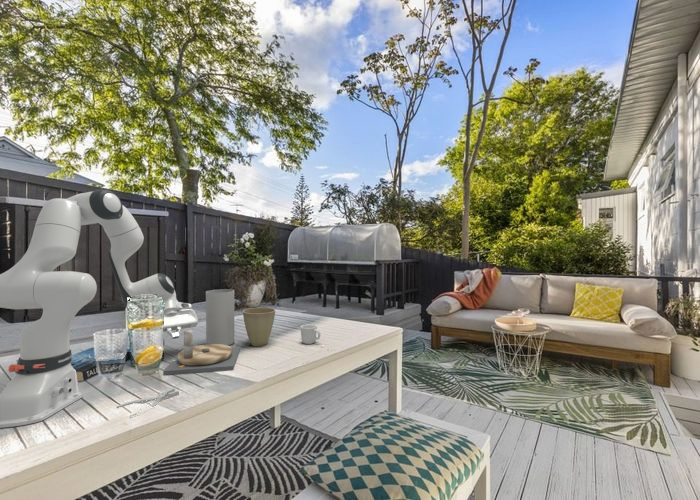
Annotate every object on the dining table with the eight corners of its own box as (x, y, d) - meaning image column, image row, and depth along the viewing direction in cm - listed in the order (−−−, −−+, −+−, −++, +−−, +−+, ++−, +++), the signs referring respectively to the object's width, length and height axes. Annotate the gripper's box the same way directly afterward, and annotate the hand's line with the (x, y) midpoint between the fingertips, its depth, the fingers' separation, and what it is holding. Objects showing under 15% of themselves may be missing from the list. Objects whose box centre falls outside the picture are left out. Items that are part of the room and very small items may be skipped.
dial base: (233, 369, 126) (233, 365, 126) (163, 375, 121) (163, 370, 121) (239, 350, 150) (239, 346, 150) (181, 353, 144) (181, 349, 144)
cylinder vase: (221, 338, 168) (220, 288, 167) (240, 341, 162) (239, 290, 162) (200, 345, 156) (199, 292, 156) (219, 349, 151) (219, 293, 150)
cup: (325, 342, 161) (325, 326, 161) (314, 347, 154) (314, 329, 154) (307, 339, 167) (307, 323, 167) (296, 343, 160) (296, 326, 160)
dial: (208, 346, 149) (208, 319, 148) (242, 352, 140) (242, 324, 140) (166, 360, 131) (165, 329, 130) (202, 368, 122) (202, 335, 122)
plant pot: (264, 350, 150) (263, 314, 149) (236, 346, 155) (236, 312, 154) (281, 340, 164) (281, 308, 164) (255, 338, 169) (255, 306, 168)
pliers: (116, 403, 97) (168, 385, 110) (116, 408, 97) (168, 390, 110) (131, 413, 92) (184, 393, 104) (131, 419, 92) (184, 398, 104)
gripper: (142, 309, 137) (148, 338, 130) (194, 303, 151) (202, 329, 144) (139, 318, 140) (145, 347, 133) (191, 312, 154) (199, 337, 147)
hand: (175, 337), depth 138 cm, fingers closed
